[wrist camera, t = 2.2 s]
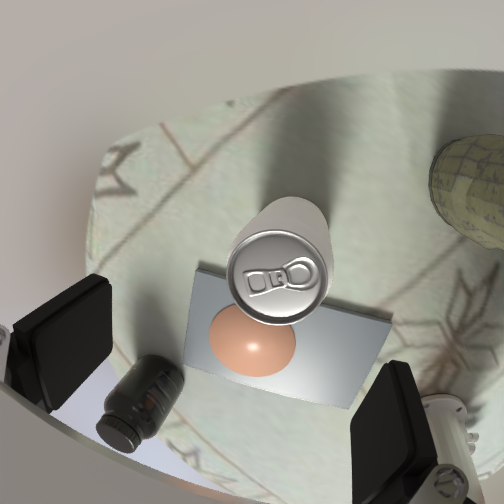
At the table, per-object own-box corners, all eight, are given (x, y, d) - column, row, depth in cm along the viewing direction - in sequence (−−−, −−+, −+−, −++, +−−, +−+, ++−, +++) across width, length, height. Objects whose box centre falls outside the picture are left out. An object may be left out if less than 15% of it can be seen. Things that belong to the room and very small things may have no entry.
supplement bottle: (133, 347, 36) (79, 406, 25) (182, 359, 35) (136, 428, 24) (141, 388, 38) (97, 446, 27) (187, 400, 37) (149, 467, 26)
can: (334, 258, 28) (343, 322, 17) (266, 271, 30) (235, 338, 19) (319, 188, 27) (323, 209, 15) (249, 204, 28) (204, 235, 17)
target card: (391, 320, 29) (392, 325, 28) (348, 404, 33) (348, 410, 32) (198, 268, 31) (194, 271, 30) (184, 360, 35) (181, 364, 34)
